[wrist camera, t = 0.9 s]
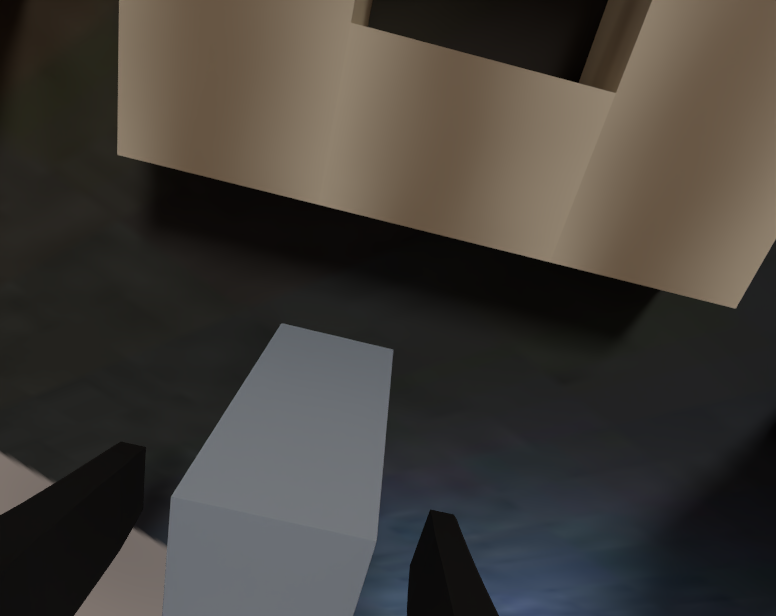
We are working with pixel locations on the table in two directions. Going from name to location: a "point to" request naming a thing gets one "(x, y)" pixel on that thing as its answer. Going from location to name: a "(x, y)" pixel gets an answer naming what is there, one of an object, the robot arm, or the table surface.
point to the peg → (285, 486)
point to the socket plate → (480, 129)
